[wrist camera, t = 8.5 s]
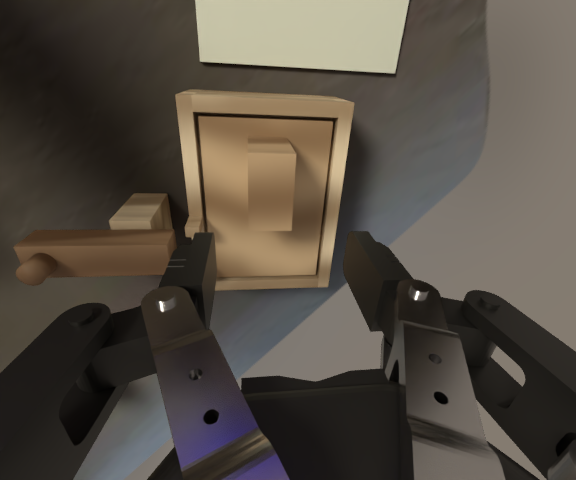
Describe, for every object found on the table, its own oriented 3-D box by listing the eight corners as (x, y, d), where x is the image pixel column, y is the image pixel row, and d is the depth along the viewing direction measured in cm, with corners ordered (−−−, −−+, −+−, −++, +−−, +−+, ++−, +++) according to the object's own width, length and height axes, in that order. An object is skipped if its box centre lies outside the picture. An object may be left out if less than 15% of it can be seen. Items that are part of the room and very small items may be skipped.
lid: (200, 114, 22) (185, 128, 16) (329, 119, 23) (354, 134, 17) (213, 269, 28) (205, 317, 23) (313, 267, 29) (327, 311, 24)
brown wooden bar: (35, 230, 23) (-4, 259, 19) (174, 229, 24) (161, 256, 21) (47, 259, 24) (12, 292, 21) (178, 257, 25) (166, 287, 22)
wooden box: (112, 85, 24) (57, 91, 17) (333, 96, 26) (363, 105, 19) (146, 256, 32) (118, 308, 25) (315, 253, 34) (333, 300, 27)
